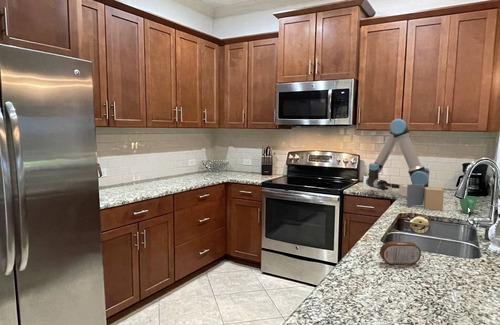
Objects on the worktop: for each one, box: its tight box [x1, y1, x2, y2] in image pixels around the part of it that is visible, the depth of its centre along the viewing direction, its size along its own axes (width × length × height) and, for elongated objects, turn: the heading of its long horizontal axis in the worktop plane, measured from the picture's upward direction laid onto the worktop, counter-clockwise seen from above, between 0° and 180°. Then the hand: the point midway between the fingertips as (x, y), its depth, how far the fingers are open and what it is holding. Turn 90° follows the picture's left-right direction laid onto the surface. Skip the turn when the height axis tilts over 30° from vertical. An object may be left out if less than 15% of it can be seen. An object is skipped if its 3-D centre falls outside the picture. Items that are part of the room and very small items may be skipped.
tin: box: [379, 241, 422, 266], centre depth 126 cm, size 15×3×8 cm, turn 90°
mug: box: [459, 195, 478, 214], centre depth 209 cm, size 15×10×10 cm
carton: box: [422, 186, 445, 212], centre depth 221 cm, size 10×10×14 cm
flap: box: [398, 183, 424, 207], centre depth 232 cm, size 12×13×14 cm
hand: (399, 189), depth 239 cm, fingers open, 13 cm apart
